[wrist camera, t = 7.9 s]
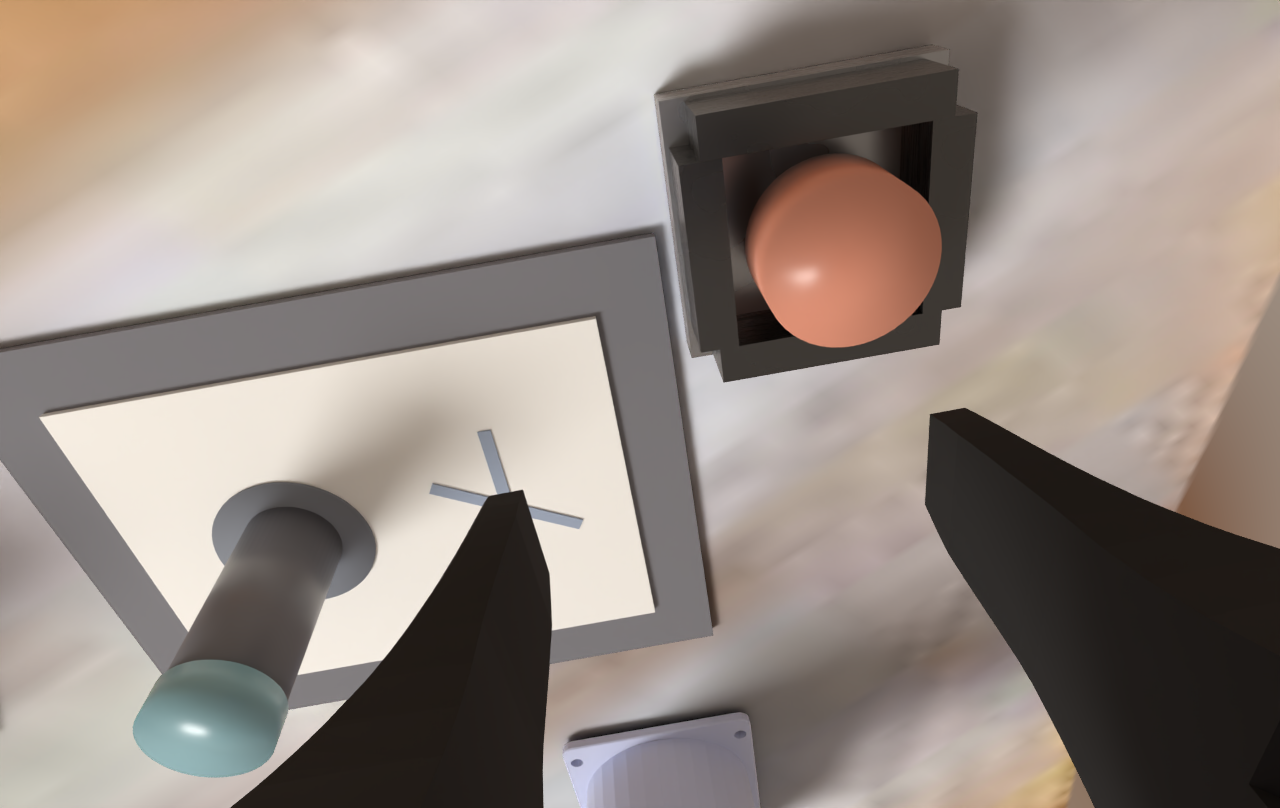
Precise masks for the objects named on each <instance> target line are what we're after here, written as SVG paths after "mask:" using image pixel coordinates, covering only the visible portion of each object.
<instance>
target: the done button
mask: <svg viewBox="0 0 1280 808" xmlns="http://www.w3.org/2000/svg"><path fill="white" fill-rule="evenodd" d="M941 253H942V239H941V232H940V227H939V224H938V221H937V218H936V216H935V214H934V212H933V210H932V208H931V207H930V205H929V204H928V202H927V201H926V200H925V199H924V198H923V197H922V196H921V195H920V194H919V193H918V192H917V191H915V190H914V189H913V188H911V187H910V186H909V185H907V184H906V183H904V182H903V181H901V180H900V179H898V178H897V177H895V176H894V175H892V174H891V173H889V172H888V171H887V170H885V169H884V168H882V167H881V166H879V165H878V164H876V163H874V162H873V161H871V160H869V159H867V158H864V157H861V156H858V155H852V154H847V153H832V154H823V155H819V156H815V157H812V158H809V159H807V160H804V161H802V162H800V163H798V164H796V165H794V166H792V167H791V168H789V169H788V170H786V171H785V172H783V173H782V174H781V175H780V176H778V177H777V178H776V179H775V180H774V181H773V182H772V183H771V184H770V185H769V186H768V187H767V189H766V190H765V191H764V192H763V194H762V195H761V197H760V198H759V200H758V201H757V203H756V205H755V207H754V209H753V211H752V213H751V216H750V219H749V222H748V225H747V229H746V236H745V255H746V262H747V265H748V268H749V271H750V273H751V276H752V278H753V280H754V281H755V283H756V285H757V287H758V288H759V290H760V292H761V294H762V295H763V297H764V299H765V301H766V302H767V304H768V306H769V307H770V309H771V311H772V313H773V314H774V316H775V317H776V319H777V320H778V321H779V323H780V324H781V325H782V326H783V327H784V328H785V329H786V330H787V331H789V332H790V333H791V334H792V335H794V336H796V337H797V338H799V339H801V340H803V341H806V342H808V343H810V344H814V345H818V346H824V347H849V346H855V345H860V344H864V343H867V342H869V341H872V340H875V339H877V338H879V337H881V336H883V335H885V334H887V333H888V332H890V331H892V330H893V329H895V328H896V327H898V326H899V325H900V324H902V323H903V322H904V321H905V320H906V319H907V318H908V317H909V316H911V315H912V314H913V313H914V311H915V310H916V309H917V308H918V307H919V306H920V304H921V303H922V302H923V300H924V299H925V297H926V296H927V294H928V292H929V291H930V289H931V287H932V285H933V283H934V280H935V278H936V275H937V272H938V269H939V265H940V260H941Z"/></svg>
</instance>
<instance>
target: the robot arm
mask: <svg viewBox="0 0 1280 808" xmlns="http://www.w3.org/2000/svg"><path fill="white" fill-rule="evenodd" d="M925 505H926V508H927V510H928V512H929V514H930V516H931V519H932V521H933V523H934V525H935V527H936V529H937V532H938V534H939V536H940V538H941V540H942V542H943V544H944V546H945V548H946V550H947V552H948V554H949V555H950V557H951V558H952V560H953V562H954V563H955V565H956V566H957V568H958V569H959V571H960V572H961V574H962V575H963V577H964V579H965V580H966V582H967V583H968V585H969V586H970V588H971V589H972V591H973V592H974V594H975V595H976V597H977V598H978V600H979V601H980V603H981V604H982V606H983V607H984V609H985V610H986V612H987V613H988V615H989V616H990V618H991V619H992V621H993V622H994V624H995V625H996V627H997V628H998V630H999V631H1000V633H1001V635H1002V636H1003V638H1004V639H1005V641H1006V642H1007V644H1008V645H1009V647H1010V648H1011V650H1012V651H1013V653H1014V654H1015V656H1016V657H1017V659H1018V660H1019V662H1020V664H1021V665H1022V667H1023V669H1024V670H1025V672H1026V674H1027V675H1028V677H1029V679H1030V680H1031V682H1032V684H1033V686H1034V688H1035V689H1036V691H1037V693H1038V695H1039V697H1040V699H1041V701H1042V703H1043V705H1044V707H1045V709H1046V710H1047V712H1048V714H1049V716H1050V718H1051V720H1052V722H1053V724H1054V726H1055V728H1056V730H1057V732H1058V733H1059V735H1060V737H1061V739H1062V741H1063V743H1064V745H1065V748H1066V750H1067V752H1068V754H1069V756H1070V758H1071V760H1072V762H1073V764H1074V766H1075V768H1076V770H1077V772H1078V774H1079V776H1080V778H1081V780H1082V782H1083V784H1084V786H1085V788H1086V790H1087V792H1088V794H1089V796H1090V799H1091V801H1092V803H1093V805H1094V807H1095V808H1280V549H1278V548H1276V547H1273V546H1269V545H1266V544H1263V543H1260V542H1257V541H1254V540H1251V539H1247V538H1244V537H1241V536H1238V535H1235V534H1232V533H1229V532H1226V531H1224V530H1221V529H1218V528H1215V527H1212V526H1209V525H1207V524H1204V523H1201V522H1199V521H1196V520H1194V519H1191V518H1189V517H1186V516H1184V515H1181V514H1179V513H1176V512H1173V511H1171V510H1168V509H1166V508H1163V507H1161V506H1158V505H1156V504H1154V503H1151V502H1149V501H1147V500H1144V499H1142V498H1140V497H1137V496H1135V495H1133V494H1131V493H1129V492H1127V491H1124V490H1122V489H1120V488H1118V487H1116V486H1114V485H1111V484H1109V483H1107V482H1105V481H1103V480H1101V479H1099V478H1097V477H1095V476H1093V475H1091V474H1089V473H1087V472H1085V471H1083V470H1081V469H1079V468H1077V467H1075V466H1073V465H1071V464H1069V463H1067V462H1065V461H1063V460H1061V459H1059V458H1057V457H1056V456H1054V455H1052V454H1050V453H1048V452H1046V451H1044V450H1042V449H1041V448H1039V447H1037V446H1035V445H1033V444H1031V443H1030V442H1028V441H1026V440H1024V439H1022V438H1020V437H1019V436H1017V435H1015V434H1013V433H1011V432H1010V431H1008V430H1006V429H1004V428H1002V427H1001V426H999V425H997V424H995V423H993V422H991V421H990V420H988V419H986V418H984V417H982V416H980V415H978V414H976V413H974V412H972V411H970V410H968V409H966V408H961V409H956V410H951V411H945V412H940V413H934V414H930V425H929V443H928V461H927V479H926V497H925ZM551 636H552V610H551V590H550V573H549V570H548V567H547V564H546V561H545V558H544V554H543V551H542V548H541V545H540V542H539V539H538V535H537V532H536V529H535V526H534V523H533V520H532V516H531V513H530V510H529V507H528V504H527V501H526V498H525V494H524V491H523V490H518V491H513V492H507V493H502V494H496V495H491V496H489V497H488V498H487V499H486V501H485V502H484V504H483V505H482V507H481V509H480V511H479V513H478V515H477V517H476V518H475V520H474V522H473V524H472V526H471V528H470V529H469V531H468V533H467V535H466V537H465V538H464V540H463V542H462V544H461V545H460V547H459V549H458V551H457V552H456V554H455V556H454V557H453V559H452V561H451V562H450V564H449V565H448V567H447V569H446V570H445V572H444V574H443V575H442V577H441V579H440V580H439V582H438V584H437V585H436V587H435V588H434V590H433V591H432V593H431V594H430V596H429V597H428V599H427V600H426V602H425V603H424V605H423V606H422V607H421V609H420V610H419V612H418V613H417V615H416V616H415V618H414V619H413V621H412V622H411V624H410V625H409V626H408V628H407V629H406V631H405V632H404V633H403V635H402V636H401V637H400V639H399V640H398V641H397V643H396V644H395V645H394V646H393V648H392V649H391V650H390V652H389V653H388V654H387V655H386V657H385V658H384V659H383V660H382V661H381V663H380V664H379V665H378V666H377V668H376V669H375V670H374V671H373V673H372V674H371V675H370V676H369V677H368V678H367V679H366V681H365V682H364V683H363V684H362V685H361V686H360V687H359V688H358V689H357V690H356V691H355V692H354V693H353V694H352V696H351V697H350V698H349V699H348V700H347V701H346V702H345V703H344V704H343V705H342V706H341V707H340V708H339V709H338V710H337V711H336V713H335V714H334V715H333V716H332V717H331V718H330V719H329V720H328V721H327V722H326V723H325V724H324V725H323V726H322V727H321V728H320V729H319V730H318V731H317V732H316V733H315V734H314V735H313V736H312V737H311V738H310V739H309V740H308V741H306V742H305V743H304V744H303V745H302V746H301V747H300V748H299V749H298V750H297V751H296V752H295V753H294V754H293V755H292V756H290V757H289V758H288V759H287V760H286V761H285V762H284V763H283V764H282V765H280V766H279V767H278V768H277V769H276V770H275V771H274V772H273V773H272V774H270V775H269V776H268V777H267V778H266V779H265V780H263V781H262V782H261V783H260V784H259V785H258V786H256V787H255V788H254V789H253V790H252V791H250V792H249V793H248V794H247V795H245V796H244V797H243V798H242V799H240V800H239V801H238V802H237V803H235V804H234V805H233V806H232V807H231V808H543V743H544V730H545V717H546V704H547V691H548V678H549V665H550V650H551ZM563 759H564V762H565V765H566V768H567V770H568V773H569V776H570V779H571V782H572V785H573V788H574V790H575V793H576V796H577V799H578V802H579V805H580V808H761V807H760V799H759V790H758V782H757V773H756V765H755V756H754V748H753V739H752V731H751V723H750V719H749V717H748V715H747V714H745V713H741V712H736V713H731V714H725V715H719V716H713V717H708V718H702V719H696V720H690V721H685V722H679V723H673V724H668V725H662V726H656V727H650V728H645V729H639V730H633V731H627V732H622V733H616V734H610V735H604V736H599V737H593V738H587V739H582V740H576V741H571V742H568V743H567V744H565V745H564V747H563Z"/></svg>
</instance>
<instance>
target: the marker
mask: <svg viewBox="0 0 1280 808" xmlns="http://www.w3.org/2000/svg"><path fill="white" fill-rule="evenodd" d="M341 554H342V541H341V538H340V535H339V533H338V532H337V530H336V529H335V528H334V526H333V525H332V524H331V523H330V522H328V521H327V520H326V519H324V518H323V517H321V516H320V515H318V514H316V513H314V512H311V511H308V510H305V509H301V508H296V507H277V508H272V509H268V510H265V511H263V512H261V513H259V514H257V515H256V516H254V517H253V518H252V519H251V520H250V522H249V523H248V524H247V526H246V528H245V530H244V532H243V533H242V535H241V537H240V539H239V541H238V542H237V544H236V546H235V548H234V550H233V552H232V553H231V555H230V557H229V559H228V561H227V563H226V564H225V566H224V568H223V570H222V572H221V573H220V575H219V577H218V579H217V581H216V583H215V584H214V586H213V588H212V590H211V592H210V593H209V595H208V597H207V599H206V601H205V603H204V604H203V606H202V608H201V610H200V612H199V614H198V615H197V617H196V619H195V621H194V623H193V624H192V626H191V628H190V630H189V632H188V634H187V635H186V637H185V639H184V641H183V643H182V644H181V646H180V648H179V650H178V652H177V654H176V655H175V657H174V659H173V661H172V663H171V664H170V666H169V668H168V670H167V671H166V672H164V673H163V674H162V675H161V676H160V677H159V678H158V680H157V681H156V683H155V685H154V686H153V688H152V690H151V692H150V694H149V695H148V697H147V699H146V701H145V703H144V704H143V706H142V708H141V710H140V712H139V713H138V715H137V717H136V719H135V721H134V725H133V735H134V739H135V741H136V743H137V745H138V746H139V747H140V749H141V750H142V751H143V752H144V753H145V754H146V755H147V756H148V757H150V758H151V759H152V760H154V761H156V762H157V763H159V764H161V765H163V766H165V767H167V768H169V769H172V770H174V771H177V772H181V773H184V774H189V775H194V776H200V777H229V776H236V775H240V774H244V773H247V772H250V771H252V770H255V769H257V768H258V767H260V766H262V765H263V764H264V763H265V762H267V761H268V760H269V758H270V757H271V756H272V754H273V753H274V750H275V747H276V744H277V741H278V739H279V736H280V733H281V730H282V727H283V725H284V722H285V719H286V716H287V714H288V708H289V707H288V699H289V697H290V694H291V691H292V688H293V686H294V683H295V680H296V677H297V675H298V672H299V669H300V666H301V664H302V661H303V658H304V655H305V653H306V650H307V647H308V644H309V642H310V639H311V636H312V633H313V631H314V628H315V625H316V623H317V620H318V617H319V614H320V612H321V609H322V606H323V603H324V601H325V598H326V595H327V592H328V590H329V587H330V584H331V581H332V579H333V576H334V573H335V570H336V568H337V565H338V562H339V560H340V557H341Z"/></svg>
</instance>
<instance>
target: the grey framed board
mask: <svg viewBox="0 0 1280 808" xmlns="http://www.w3.org/2000/svg"><path fill="white" fill-rule="evenodd" d="M0 460H1V462H2V463H3V464H4V466H5V467H6V468H7V470H8V471H9V472H10V474H11V475H12V476H13V478H14V479H15V480H16V482H17V483H18V484H19V486H20V487H21V488H22V490H23V491H24V492H25V494H26V495H27V496H28V497H29V499H30V500H31V501H32V503H33V504H34V505H35V507H36V508H37V509H38V511H39V512H40V513H41V515H42V516H43V517H44V519H45V520H46V521H47V523H48V524H49V525H50V527H51V528H52V529H53V531H54V532H55V533H56V535H57V536H58V537H59V538H60V540H61V541H62V542H63V544H64V545H65V546H66V548H67V549H68V550H69V552H70V553H71V554H72V556H73V557H74V558H75V560H76V561H77V562H78V564H79V565H80V566H81V568H82V569H83V570H84V572H85V573H86V574H87V575H88V577H89V578H90V579H91V581H92V582H93V583H94V585H95V586H96V587H97V589H98V590H99V591H100V593H101V594H102V595H103V597H104V598H105V599H106V601H107V602H108V603H109V605H110V606H111V607H112V609H113V610H114V611H115V613H116V614H117V615H118V616H119V618H120V619H121V620H122V622H123V623H124V624H125V626H126V627H127V628H128V630H129V631H130V632H131V634H132V635H133V636H134V638H135V639H136V640H137V642H138V643H139V644H140V646H141V647H142V648H143V650H144V651H145V652H146V654H147V655H148V656H149V657H150V659H151V660H152V661H153V663H154V664H155V665H156V667H157V668H158V669H159V671H160V672H161V673H162V674H163V673H164V672H166V671H167V670H168V668H169V666H170V664H171V663H172V661H173V659H174V657H175V655H176V654H177V652H178V650H179V648H180V646H181V644H182V643H183V641H184V639H185V637H186V635H187V634H188V632H189V630H190V628H191V626H192V624H193V623H194V621H195V619H196V617H197V615H198V614H199V612H200V610H201V608H202V606H203V604H204V603H205V601H206V599H207V597H208V595H209V593H210V592H211V590H212V588H213V586H214V584H215V583H216V581H217V579H218V577H219V575H220V573H221V572H222V570H223V568H224V566H225V564H226V563H227V561H228V559H229V557H230V555H231V553H232V552H233V550H234V548H235V546H236V544H237V542H238V541H239V539H240V537H241V535H242V533H243V532H244V530H245V528H246V526H247V524H248V523H249V522H250V520H251V519H252V518H253V517H254V516H256V515H257V514H259V513H261V512H263V511H265V510H268V509H272V508H277V507H296V508H301V509H305V510H308V511H311V512H314V513H316V514H318V515H320V516H321V517H323V518H324V519H326V520H327V521H328V522H330V523H331V524H332V525H333V526H334V528H335V529H336V530H337V532H338V533H339V535H340V538H341V541H342V554H341V557H340V560H339V562H338V565H337V568H336V570H335V573H334V576H333V579H332V581H331V584H330V587H329V590H328V592H327V595H326V598H325V601H324V603H323V606H322V609H321V612H320V614H319V617H318V620H317V623H316V625H315V628H314V631H313V633H312V636H311V639H310V642H309V644H308V647H307V650H306V653H305V655H304V658H303V661H302V664H301V666H300V669H299V672H298V675H297V677H296V680H295V683H294V686H293V688H292V691H291V694H290V697H289V699H288V707H289V708H288V710H290V709H296V708H301V707H307V706H313V705H319V704H324V703H330V702H336V701H341V700H347V699H349V698H350V697H351V696H352V694H353V693H354V692H355V691H356V690H357V689H358V688H359V687H360V686H361V685H362V684H363V683H364V682H365V681H366V679H367V678H368V677H369V676H370V675H371V674H372V673H373V671H374V670H375V669H376V668H377V666H378V665H379V664H380V663H381V661H382V660H383V659H384V658H385V657H386V655H387V654H388V653H389V652H390V650H391V649H392V648H393V646H394V645H395V644H396V643H397V641H398V640H399V639H400V637H401V636H402V635H403V633H404V632H405V631H406V629H407V628H408V626H409V625H410V624H411V622H412V621H413V619H414V618H415V616H416V615H417V613H418V612H419V610H420V609H421V607H422V606H423V605H424V603H425V602H426V600H427V599H428V597H429V596H430V594H431V593H432V591H433V590H434V588H435V587H436V585H437V584H438V582H439V580H440V579H441V577H442V575H443V574H444V572H445V570H446V569H447V567H448V565H449V564H450V562H451V561H452V559H453V557H454V556H455V554H456V552H457V551H458V549H459V547H460V545H461V544H462V542H463V540H464V538H465V537H466V535H467V533H468V531H469V529H470V528H471V526H472V524H473V522H474V520H475V518H476V517H477V515H478V513H479V511H480V509H481V507H482V505H483V504H484V502H485V501H486V499H487V498H488V497H489V496H491V495H496V494H502V493H507V492H513V491H518V490H523V491H524V494H525V498H526V501H527V504H528V507H529V510H530V513H531V516H532V520H533V523H534V526H535V529H536V532H537V535H538V539H539V542H540V545H541V548H542V551H543V554H544V558H545V561H546V564H547V567H548V570H549V573H550V590H551V610H552V636H551V650H550V664H553V663H559V662H564V661H570V660H576V659H582V658H587V657H593V656H599V655H604V654H610V653H616V652H622V651H627V650H633V649H639V648H644V647H650V646H656V645H662V644H667V643H673V642H679V641H684V640H690V639H696V638H702V637H707V636H713V630H712V623H711V616H710V609H709V603H708V596H707V589H706V582H705V575H704V568H703V561H702V555H701V548H700V541H699V534H698V527H697V520H696V514H695V507H694V500H693V493H692V486H691V479H690V472H689V466H688V459H687V452H686V445H685V438H684V431H683V424H682V418H681V411H680V404H679V397H678V390H677V383H676V377H675V370H674V363H673V356H672V349H671V342H670V335H669V329H668V322H667V315H666V308H665V301H664V294H663V287H662V281H661V274H660V267H659V260H658V253H657V246H656V239H655V235H654V233H650V234H644V235H639V236H633V237H628V238H622V239H616V240H611V241H605V242H599V243H594V244H588V245H583V246H577V247H571V248H566V249H560V250H554V251H549V252H543V253H537V254H532V255H526V256H521V257H515V258H509V259H504V260H498V261H492V262H487V263H481V264H475V265H470V266H464V267H459V268H453V269H447V270H442V271H436V272H430V273H425V274H419V275H414V276H408V277H402V278H397V279H391V280H385V281H380V282H374V283H368V284H363V285H357V286H352V287H346V288H340V289H335V290H329V291H323V292H318V293H312V294H306V295H301V296H295V297H290V298H284V299H278V300H273V301H267V302H261V303H256V304H250V305H245V306H239V307H233V308H228V309H222V310H216V311H211V312H205V313H199V314H194V315H188V316H183V317H177V318H171V319H166V320H160V321H154V322H149V323H143V324H137V325H132V326H126V327H121V328H115V329H109V330H104V331H98V332H92V333H87V334H81V335H76V336H70V337H64V338H59V339H53V340H47V341H42V342H36V343H30V344H25V345H19V346H14V347H8V348H2V349H0Z"/></svg>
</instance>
